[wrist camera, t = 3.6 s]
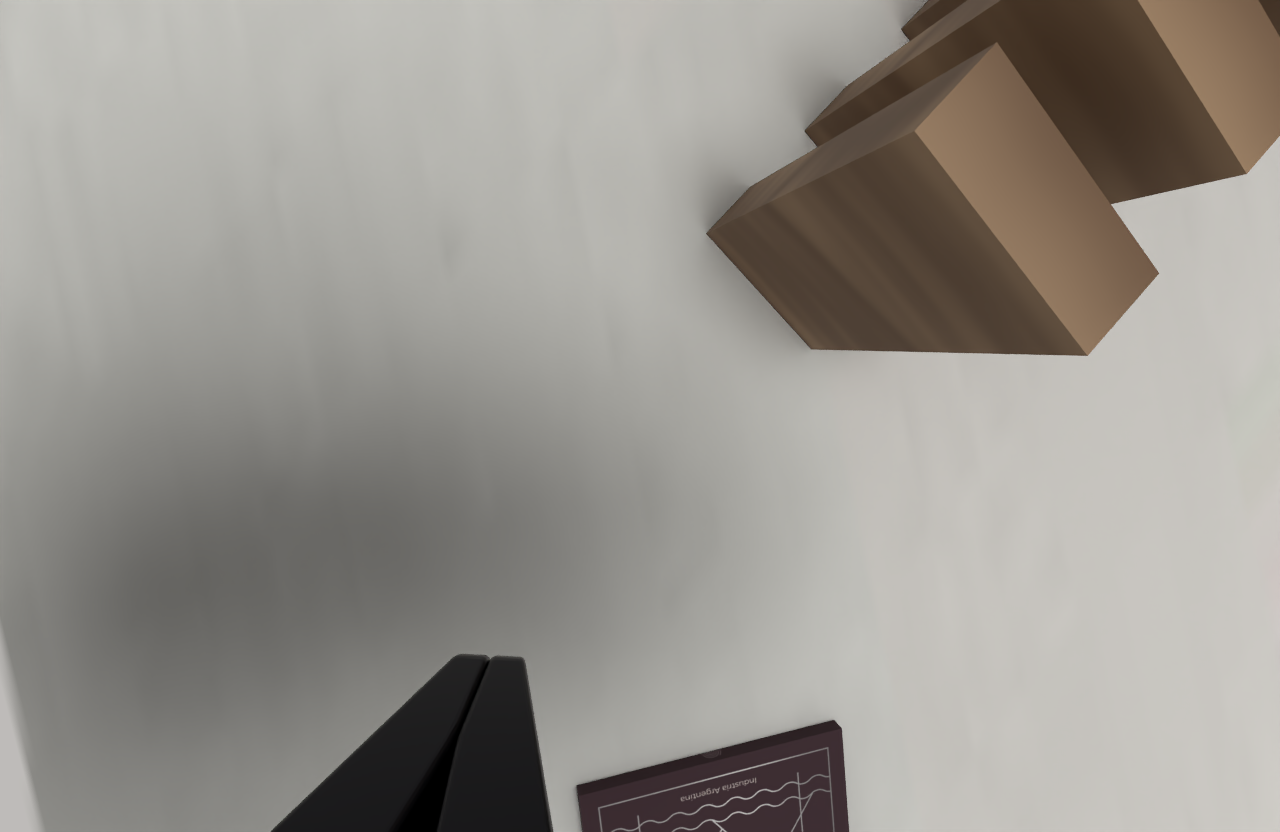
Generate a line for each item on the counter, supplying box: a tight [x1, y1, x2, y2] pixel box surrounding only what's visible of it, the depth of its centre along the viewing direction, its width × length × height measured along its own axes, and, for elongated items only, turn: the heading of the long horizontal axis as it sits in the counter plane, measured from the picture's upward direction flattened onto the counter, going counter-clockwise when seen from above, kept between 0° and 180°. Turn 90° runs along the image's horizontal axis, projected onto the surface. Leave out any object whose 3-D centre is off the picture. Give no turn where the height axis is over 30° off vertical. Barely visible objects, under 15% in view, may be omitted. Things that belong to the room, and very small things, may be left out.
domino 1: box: [706, 42, 1159, 356], centre depth 16 cm, size 2×5×10 cm, turn 46°
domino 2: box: [805, 0, 1280, 204], centre depth 16 cm, size 2×5×10 cm, turn 46°
